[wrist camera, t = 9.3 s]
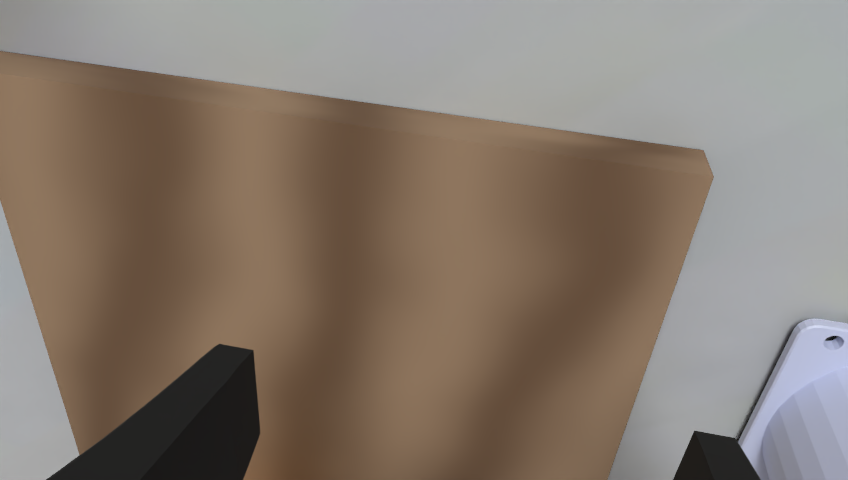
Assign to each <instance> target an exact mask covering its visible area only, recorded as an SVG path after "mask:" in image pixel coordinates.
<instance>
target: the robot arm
mask: <svg viewBox="0 0 848 480" xmlns="http://www.w3.org/2000/svg"><path fill="white" fill-rule="evenodd" d="M831 336H838V337H837V338H836V339H834V340H831V341H825V339H826V338H828V337H831ZM259 436H260V421H259V409H258V398H257V386H256V374H255V363H254V351H253V350H251V349H245V348H240V347H234V346H229V345H223V344H218V345H216V346H215V347H213V348H212V349H211V350H210V351H209V352H207V353H206V354H205V355H204V356H203V357H201V358H200V359H199V360H198V361H197V362H196V363H194V364H193V365H192V366H191V367H190V368H189V369H187V370H186V371H185V372H184V373H183V374H181V375H180V376H179V377H178V378H177V379H176V380H174V381H173V382H172V383H171V384H170V385H168V386H167V387H166V388H165V389H164V390H162V391H161V392H160V393H159V394H158V395H156V396H155V397H154V398H153V399H152V400H150V401H149V402H148V403H147V404H145V405H144V406H143V407H142V408H140V409H139V410H138V411H137V412H135V413H134V414H133V415H132V416H130V417H129V418H128V419H127V420H125V421H124V422H123V423H122V424H120V425H119V426H118V427H117V428H115V429H114V430H113V431H112V432H110V433H109V434H108V435H106V436H105V437H104V438H103V439H101V440H100V441H99V442H97V443H96V444H95V445H93V446H92V447H90V448H89V449H88V450H86V451H85V452H84V453H82V454H81V455H80V456H78V457H77V458H75V459H74V460H73V461H71V462H70V463H69V464H67V465H66V466H65V467H63V468H62V469H60V470H59V471H58V472H56V473H55V474H53V475H52V476H51V477H49V478H48V479H46V480H243V479H244V476H245V474H246V471H247V468H248V466H249V463H250V461H251V458H252V455H253V452H254V450H255V447H256V444H257V441H258V439H259ZM673 480H848V323H842V322H836V321H829V320H823V319H808V320H804V321H802V322H801V323H799V324H797V326H796V327H795V328H794V330H793V332H792V334H791V336H790V338H789V340H788V342H787V344H786V346H785V348H784V350H783V352H782V354H781V356H780V358H779V360H778V362H777V364H776V366H775V368H774V370H773V372H772V374H771V376H770V378H769V380H768V382H767V384H766V386H765V388H764V390H763V392H762V394H761V396H760V398H759V400H758V402H757V404H756V406H755V408H754V410H753V412H752V415H751V417H750V419H749V421H748V423H747V425H746V427H745V429H744V431H743V433H742V435H741V437H740V439H739V441H738V442H737V441H736V439H735V438H731V437H726V436H720V435H715V434H709V433H704V432H698V431H694V433H693V435H692V438H691V440H690V442H689V445H688V447H687V449H686V451H685V454H684V456H683V458H682V461H681V463H680V465H679V467H678V470H677V472H676V474H675V477H674V479H673Z"/></svg>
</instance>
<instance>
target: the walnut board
mask: <svg viewBox="0 0 848 480" xmlns="http://www.w3.org/2000/svg"><path fill="white" fill-rule="evenodd" d="M713 178H714V176H713V174H712V171H711V169H710V166H709V163H708V161H707V158H706V156H705V153H704V150H697V149H690V148H683V147H676V146H669V145H662V144H655V143H648V142H641V141H634V140H627V139H619V138H612V137H605V136H598V135H591V134H584V133H577V132H570V131H563V130H556V129H549V128H541V127H534V126H527V125H520V124H513V123H506V122H499V121H492V120H485V119H478V118H471V117H463V116H456V115H449V114H442V113H435V112H428V111H421V110H414V109H407V108H400V107H393V106H386V105H378V104H371V103H364V102H357V101H350V100H343V99H336V98H329V97H322V96H315V95H308V94H300V93H293V92H286V91H279V90H272V89H265V88H258V87H251V86H244V85H237V84H230V83H223V82H215V81H208V80H201V79H194V78H187V77H180V76H173V75H166V74H159V73H152V72H145V71H137V70H130V69H123V68H116V67H109V66H102V65H95V64H88V63H81V62H74V61H67V60H59V59H52V58H45V57H38V56H31V55H24V54H17V53H10V52H3V51H0V200H1V204H2V207H3V210H4V213H5V217H6V220H7V223H8V226H9V229H10V233H11V236H12V239H13V242H14V245H15V249H16V252H17V255H18V258H19V261H20V265H21V268H22V271H23V274H24V278H25V281H26V284H27V287H28V290H29V294H30V297H31V300H32V303H33V306H34V310H35V313H36V316H37V319H38V322H39V326H40V329H41V332H42V335H43V338H44V342H45V345H46V348H47V351H48V355H49V358H50V361H51V364H52V367H53V371H54V374H55V377H56V380H57V383H58V387H59V390H60V393H61V396H62V399H63V403H64V406H65V409H66V412H67V416H68V419H69V422H70V425H71V428H72V432H73V435H74V438H75V441H76V444H77V448H78V451H79V454H80V455H81V454H82V453H84V452H85V451H86V450H88V449H89V448H90V447H92V446H93V445H95V444H96V443H97V442H99V441H100V440H101V439H103V438H104V437H105V436H106V435H108V434H109V433H110V432H112V431H113V430H114V429H115V428H117V427H118V426H119V425H120V424H122V423H123V422H124V421H125V420H127V419H128V418H129V417H130V416H132V415H133V414H134V413H135V412H137V411H138V410H139V409H140V408H142V407H143V406H144V405H145V404H147V403H148V402H149V401H150V400H152V399H153V398H154V397H155V396H156V395H158V394H159V393H160V392H161V391H162V390H164V389H165V388H166V387H167V386H168V385H170V384H171V383H172V382H173V381H174V380H176V379H177V378H178V377H179V376H180V375H181V374H183V373H184V372H185V371H186V370H187V369H189V368H190V367H191V366H192V365H193V364H194V363H196V362H197V361H198V360H199V359H200V358H201V357H203V356H204V355H205V354H206V353H207V352H209V351H210V350H211V349H212V348H213V347H215V346H216V345H218V344H223V345H229V346H234V347H240V348H245V349H251V350H253V351H254V363H255V374H256V386H257V398H258V409H259V421H260V436H259V439H258V441H257V444H256V447H255V450H254V452H253V455H252V458H251V461H250V463H249V466H248V468H247V471H246V474H245V476H244V479H243V480H607V479H608V476H609V473H610V470H611V467H612V464H613V462H614V459H615V456H616V453H617V450H618V447H619V445H620V442H621V439H622V436H623V433H624V430H625V427H626V425H627V422H628V419H629V416H630V413H631V410H632V408H633V405H634V402H635V399H636V396H637V393H638V391H639V388H640V385H641V382H642V379H643V376H644V374H645V371H646V368H647V365H648V362H649V359H650V356H651V354H652V351H653V348H654V345H655V342H656V339H657V337H658V334H659V331H660V328H661V325H662V322H663V320H664V317H665V314H666V311H667V308H668V305H669V302H670V300H671V297H672V294H673V291H674V288H675V285H676V283H677V280H678V277H679V274H680V271H681V268H682V266H683V263H684V260H685V257H686V254H687V251H688V249H689V246H690V243H691V240H692V237H693V234H694V231H695V229H696V226H697V223H698V220H699V217H700V214H701V212H702V209H703V206H704V203H705V200H706V197H707V195H708V192H709V189H710V186H711V183H712V180H713Z"/></svg>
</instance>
